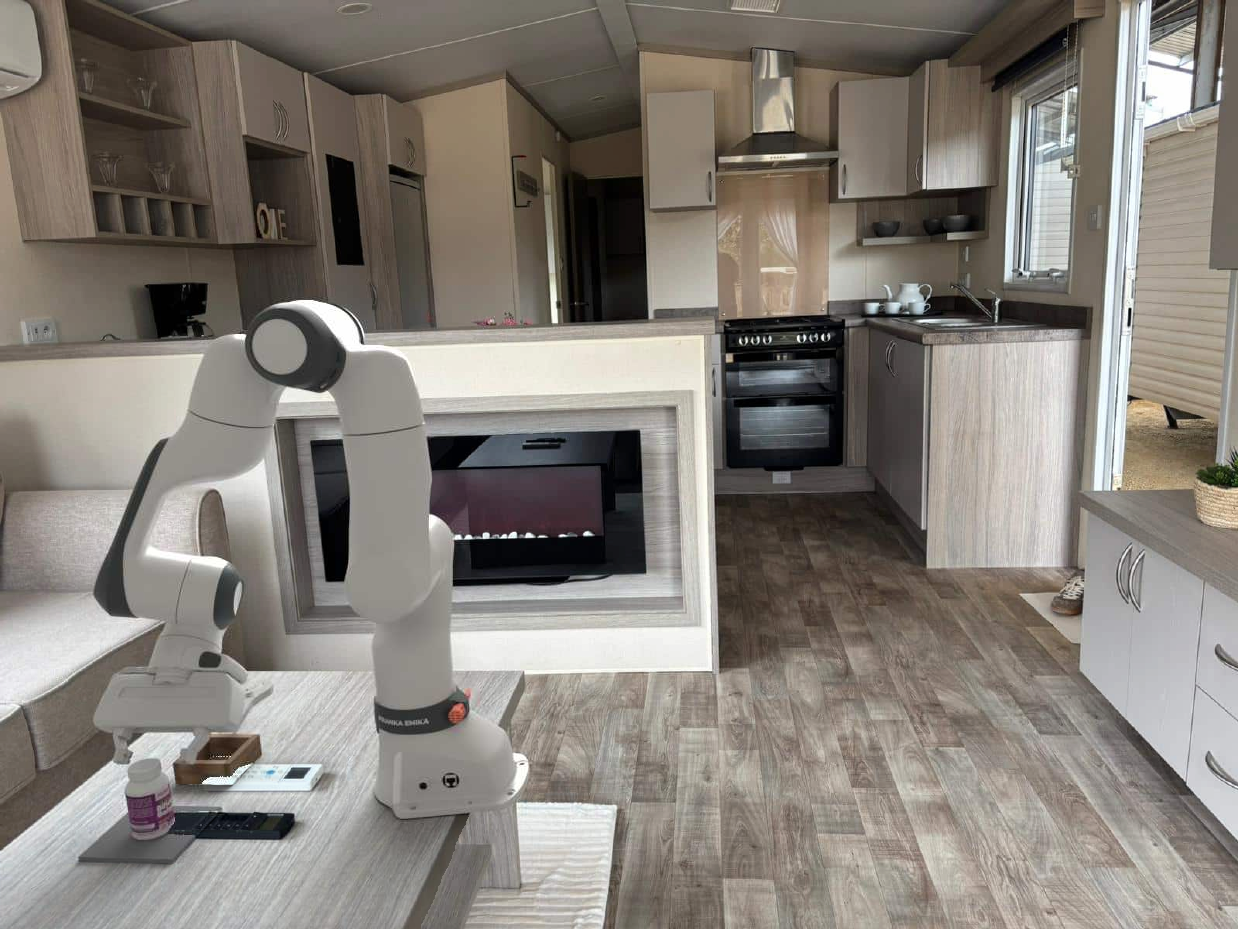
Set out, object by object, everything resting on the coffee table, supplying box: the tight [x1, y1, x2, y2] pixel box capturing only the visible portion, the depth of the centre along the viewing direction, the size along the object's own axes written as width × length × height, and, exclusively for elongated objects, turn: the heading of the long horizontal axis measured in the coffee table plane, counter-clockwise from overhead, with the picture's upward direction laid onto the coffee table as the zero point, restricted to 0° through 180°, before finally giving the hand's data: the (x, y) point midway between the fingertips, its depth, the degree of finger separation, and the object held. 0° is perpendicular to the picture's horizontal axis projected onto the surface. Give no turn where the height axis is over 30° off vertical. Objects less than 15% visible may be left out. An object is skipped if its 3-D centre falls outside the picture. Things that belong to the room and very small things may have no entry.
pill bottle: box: [124, 757, 175, 840], centre depth 122 cm, size 5×5×10 cm
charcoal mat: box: [77, 805, 223, 865], centre depth 123 cm, size 13×12×1 cm
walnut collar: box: [172, 733, 263, 786], centre depth 139 cm, size 9×9×4 cm
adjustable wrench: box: [216, 679, 274, 734], centre depth 157 cm, size 25×6×2 cm, turn 2°
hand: (153, 763), depth 123 cm, fingers open, 8 cm apart
